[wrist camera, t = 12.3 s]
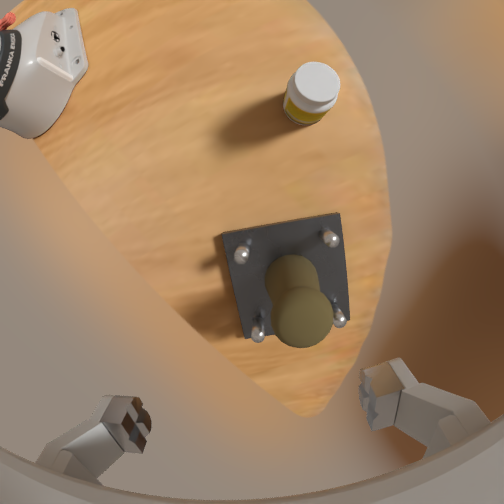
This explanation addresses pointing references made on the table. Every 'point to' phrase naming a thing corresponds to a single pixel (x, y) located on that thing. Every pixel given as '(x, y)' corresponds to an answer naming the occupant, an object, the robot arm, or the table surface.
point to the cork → (297, 302)
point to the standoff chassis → (277, 245)
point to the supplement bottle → (311, 93)
